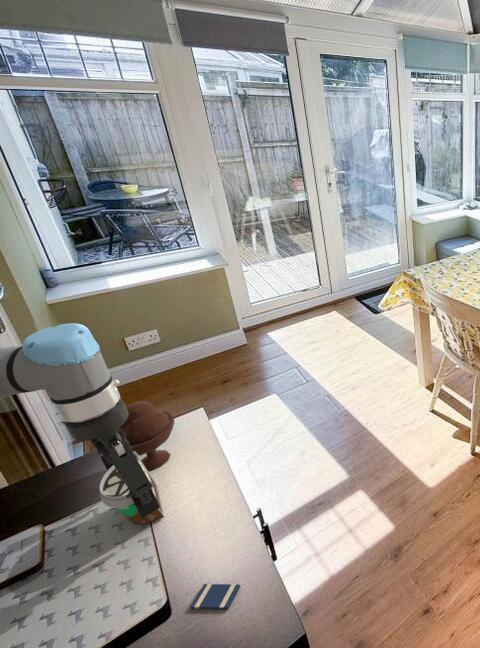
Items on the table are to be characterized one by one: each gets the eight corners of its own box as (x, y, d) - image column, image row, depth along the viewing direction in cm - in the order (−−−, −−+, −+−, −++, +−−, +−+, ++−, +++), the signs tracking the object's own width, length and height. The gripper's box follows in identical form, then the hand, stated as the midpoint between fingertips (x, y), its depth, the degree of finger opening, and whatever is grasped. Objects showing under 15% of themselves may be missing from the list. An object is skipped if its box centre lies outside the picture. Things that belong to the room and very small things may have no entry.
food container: (118, 500, 83) (93, 468, 78) (155, 480, 87) (133, 449, 82) (125, 546, 76) (97, 514, 71) (165, 522, 79) (142, 490, 74)
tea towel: (191, 609, 67) (190, 606, 67) (204, 585, 70) (203, 583, 70) (228, 609, 67) (227, 607, 67) (240, 586, 70) (239, 584, 70)
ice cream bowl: (109, 476, 88) (83, 422, 82) (160, 437, 98) (140, 387, 92) (148, 487, 86) (124, 434, 80) (196, 446, 96) (178, 396, 90)
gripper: (150, 425, 68) (188, 511, 76) (95, 371, 80) (133, 451, 88) (89, 456, 62) (138, 546, 70) (40, 393, 74) (87, 476, 82)
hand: (135, 493), depth 79 cm, fingers open, 13 cm apart
